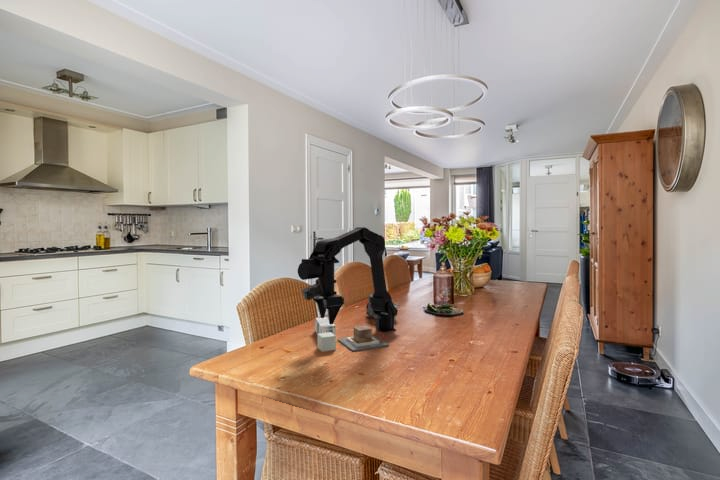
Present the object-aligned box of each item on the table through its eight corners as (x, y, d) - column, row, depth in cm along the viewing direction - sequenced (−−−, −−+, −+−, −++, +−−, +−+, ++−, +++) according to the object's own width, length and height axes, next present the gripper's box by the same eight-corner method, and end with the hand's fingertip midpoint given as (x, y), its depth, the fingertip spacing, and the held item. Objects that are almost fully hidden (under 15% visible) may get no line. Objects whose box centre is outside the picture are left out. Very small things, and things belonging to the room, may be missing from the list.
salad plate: (445, 306, 200) (445, 298, 200) (472, 313, 185) (472, 304, 185) (417, 311, 189) (417, 302, 189) (443, 318, 174) (444, 308, 174)
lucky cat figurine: (399, 314, 182) (403, 291, 174) (390, 329, 172) (394, 306, 165) (370, 303, 186) (374, 281, 179) (360, 317, 177) (363, 294, 170)
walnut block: (365, 338, 141) (365, 325, 141) (371, 342, 137) (371, 328, 136) (353, 340, 139) (353, 327, 139) (359, 344, 135) (359, 330, 134)
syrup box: (328, 330, 155) (336, 340, 141) (314, 331, 153) (321, 342, 139) (328, 316, 155) (336, 325, 141) (314, 317, 153) (321, 326, 139)
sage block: (330, 345, 135) (330, 332, 135) (335, 349, 131) (335, 335, 131) (317, 347, 133) (317, 333, 133) (322, 352, 129) (322, 337, 129)
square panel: (371, 335, 147) (371, 332, 147) (388, 346, 135) (388, 342, 134) (337, 340, 141) (337, 336, 141) (352, 351, 129) (352, 347, 129)
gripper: (296, 274, 136) (297, 317, 137) (312, 282, 119) (312, 330, 120) (325, 273, 141) (326, 314, 142) (344, 279, 124) (344, 326, 125)
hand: (326, 321), depth 132 cm, fingers open, 9 cm apart
